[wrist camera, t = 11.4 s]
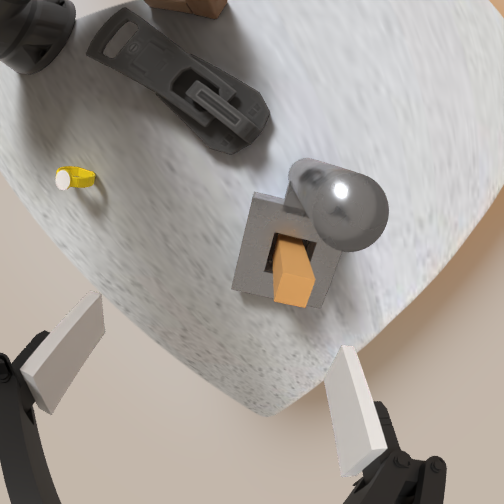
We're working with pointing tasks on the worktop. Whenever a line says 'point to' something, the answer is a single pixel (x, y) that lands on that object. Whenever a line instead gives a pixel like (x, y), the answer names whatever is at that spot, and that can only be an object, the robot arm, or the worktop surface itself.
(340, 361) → the robot arm
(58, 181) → the watch
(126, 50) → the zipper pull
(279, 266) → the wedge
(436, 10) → the worktop surface
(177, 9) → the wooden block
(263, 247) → the grey l-shaped piece
